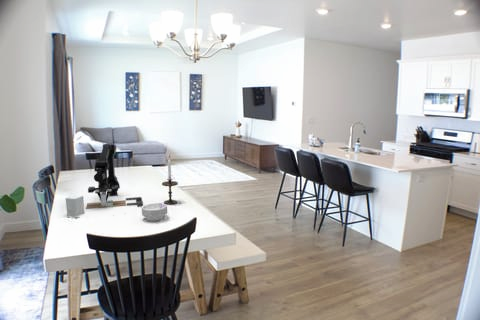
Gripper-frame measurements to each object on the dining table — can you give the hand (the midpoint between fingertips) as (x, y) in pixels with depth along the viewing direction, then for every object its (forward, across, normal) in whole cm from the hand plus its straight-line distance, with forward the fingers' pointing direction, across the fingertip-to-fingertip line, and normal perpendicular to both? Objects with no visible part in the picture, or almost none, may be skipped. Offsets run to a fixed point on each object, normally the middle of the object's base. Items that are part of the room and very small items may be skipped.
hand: (104, 201), depth 244 cm
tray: (+4, +20, 0) cm, 20 cm away
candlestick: (+4, +44, -4) cm, 44 cm away
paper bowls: (+4, +30, -35) cm, 46 cm away
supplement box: (+4, -16, -16) cm, 23 cm away
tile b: (+2, +4, -3) cm, 5 cm away
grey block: (+2, 0, 0) cm, 2 cm away
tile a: (+2, +4, +2) cm, 5 cm away
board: (+4, +1, 0) cm, 4 cm away
